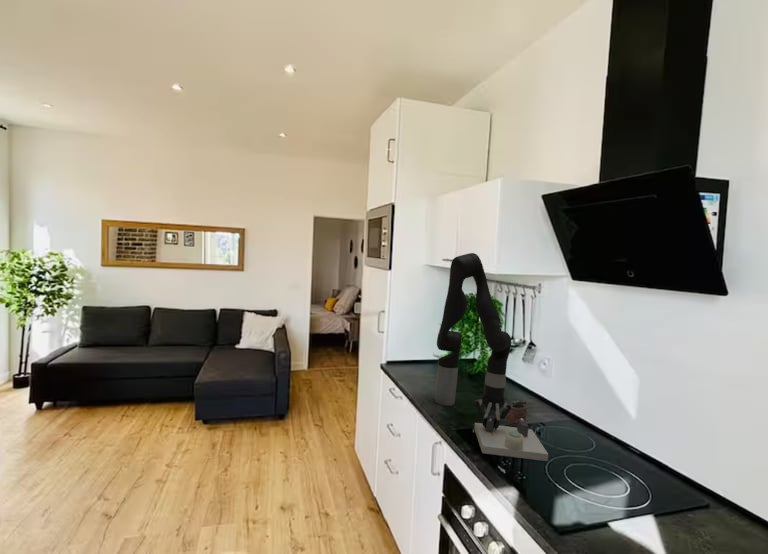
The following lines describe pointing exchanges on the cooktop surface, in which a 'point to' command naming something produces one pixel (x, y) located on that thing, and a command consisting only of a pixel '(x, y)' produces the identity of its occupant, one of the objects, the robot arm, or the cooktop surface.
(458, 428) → the cooktop surface
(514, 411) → the lighter
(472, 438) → the cooktop surface
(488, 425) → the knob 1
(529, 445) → the base plate
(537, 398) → the cooktop surface
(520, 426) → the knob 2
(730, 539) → the cooktop surface
